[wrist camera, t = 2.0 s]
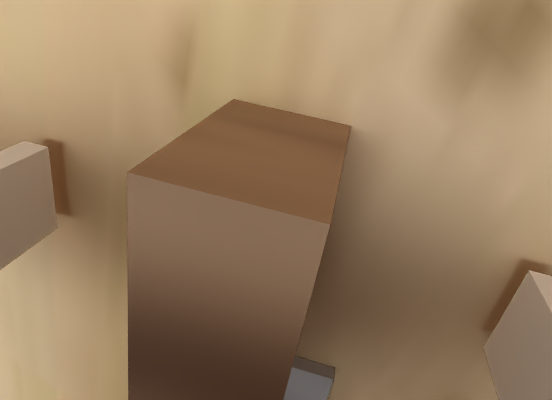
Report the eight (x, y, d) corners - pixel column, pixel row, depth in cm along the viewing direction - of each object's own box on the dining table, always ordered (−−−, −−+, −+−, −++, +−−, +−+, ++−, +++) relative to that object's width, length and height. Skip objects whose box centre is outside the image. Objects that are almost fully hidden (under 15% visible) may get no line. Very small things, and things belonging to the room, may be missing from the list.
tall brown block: (295, 483, 17) (266, 654, 12) (159, 437, 17) (86, 584, 13) (412, 139, 10) (442, 253, 5) (178, 86, 10) (34, 148, 6)
